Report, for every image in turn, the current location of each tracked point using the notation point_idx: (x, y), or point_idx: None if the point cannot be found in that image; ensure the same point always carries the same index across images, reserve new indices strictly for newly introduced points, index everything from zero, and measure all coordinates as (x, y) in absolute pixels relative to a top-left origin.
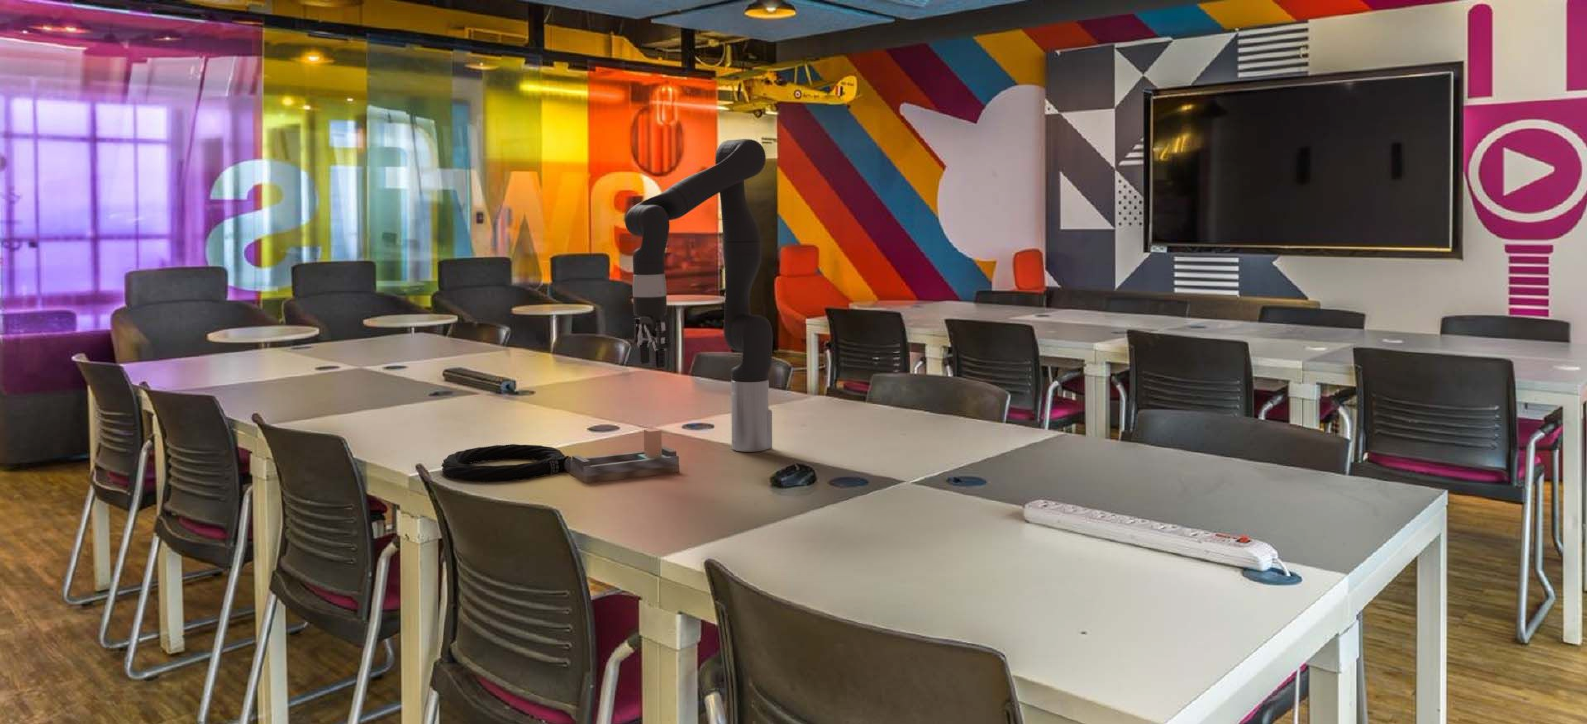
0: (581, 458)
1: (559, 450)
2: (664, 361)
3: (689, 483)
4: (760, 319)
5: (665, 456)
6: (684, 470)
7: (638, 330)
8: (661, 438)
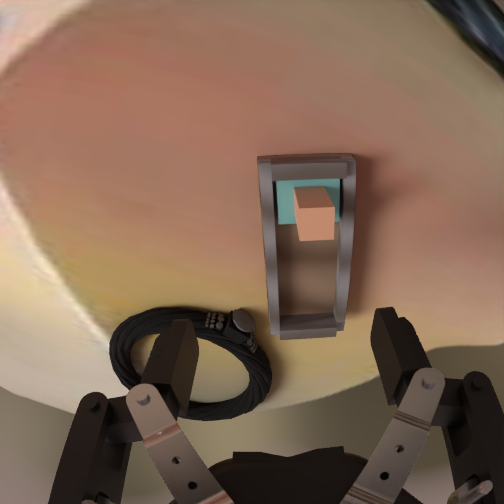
0: (309, 333)
1: (165, 320)
2: (414, 329)
3: (436, 178)
4: None
5: (327, 179)
6: (340, 137)
7: (114, 488)
8: (330, 199)
